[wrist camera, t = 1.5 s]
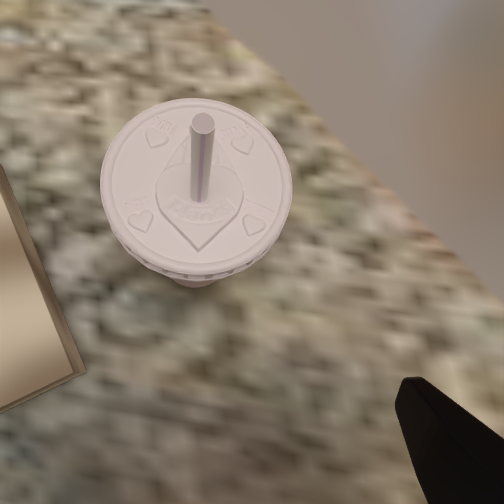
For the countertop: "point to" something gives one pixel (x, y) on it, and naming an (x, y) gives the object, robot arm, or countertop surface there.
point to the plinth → (28, 315)
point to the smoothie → (196, 189)
